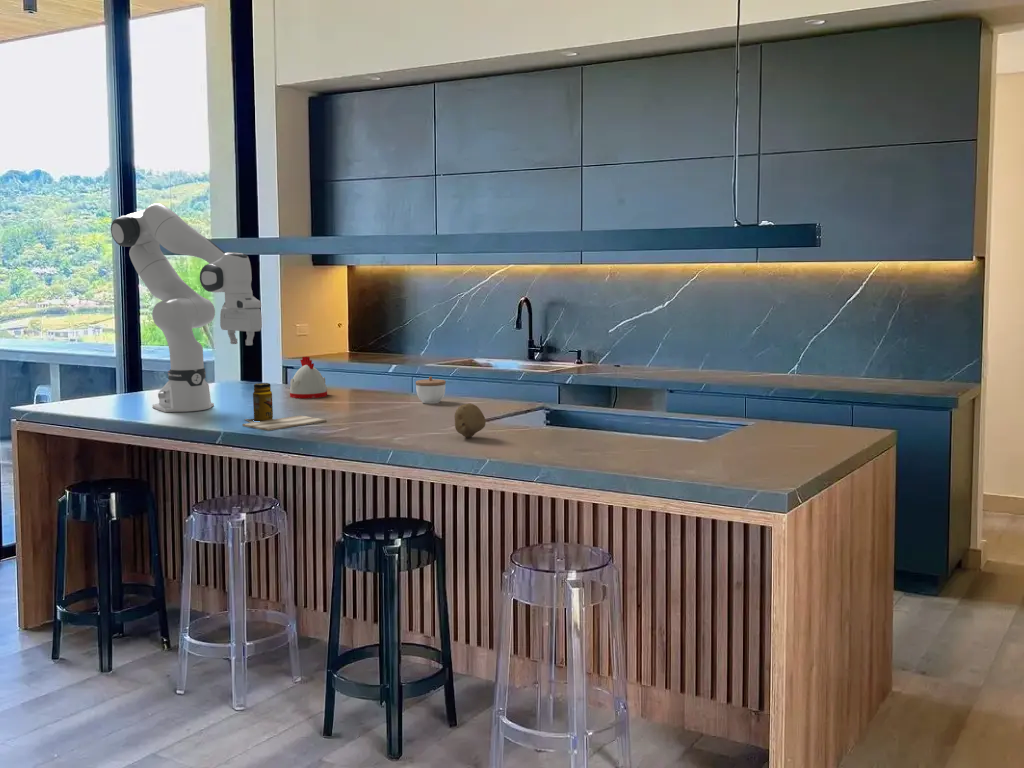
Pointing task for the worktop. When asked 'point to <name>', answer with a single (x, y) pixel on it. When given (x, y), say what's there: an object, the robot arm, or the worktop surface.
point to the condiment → (262, 403)
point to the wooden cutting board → (284, 422)
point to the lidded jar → (430, 390)
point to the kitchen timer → (307, 381)
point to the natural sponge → (469, 420)
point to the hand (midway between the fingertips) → (241, 344)
